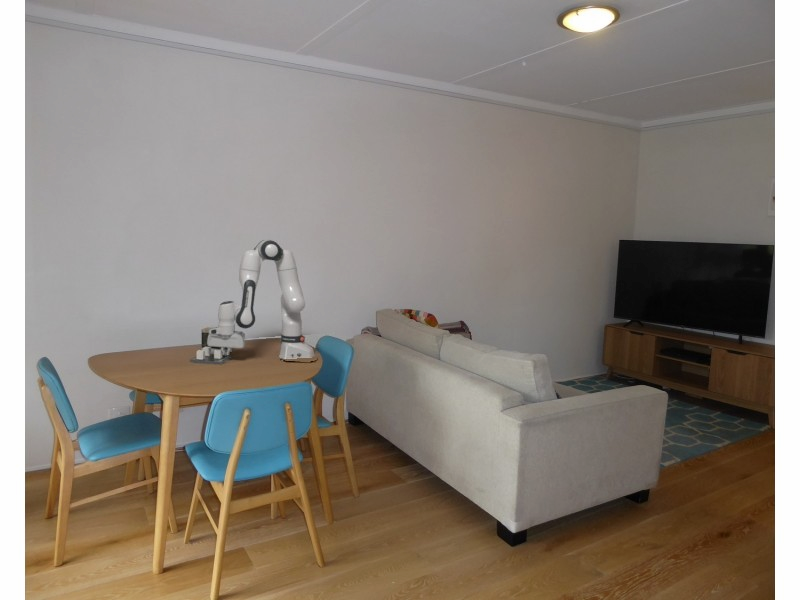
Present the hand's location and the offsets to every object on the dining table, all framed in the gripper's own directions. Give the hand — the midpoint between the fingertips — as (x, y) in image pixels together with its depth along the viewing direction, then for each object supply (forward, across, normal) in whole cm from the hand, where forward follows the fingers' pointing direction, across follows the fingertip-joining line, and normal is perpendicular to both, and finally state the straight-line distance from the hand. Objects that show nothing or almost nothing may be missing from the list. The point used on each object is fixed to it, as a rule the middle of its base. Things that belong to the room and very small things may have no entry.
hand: (225, 355), depth 306 cm
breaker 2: (+2, +12, -5) cm, 13 cm away
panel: (+4, +8, 0) cm, 9 cm away
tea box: (+4, +12, -19) cm, 23 cm away
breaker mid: (+2, +4, 0) cm, 5 cm away
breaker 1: (+2, +12, +4) cm, 13 cm away
